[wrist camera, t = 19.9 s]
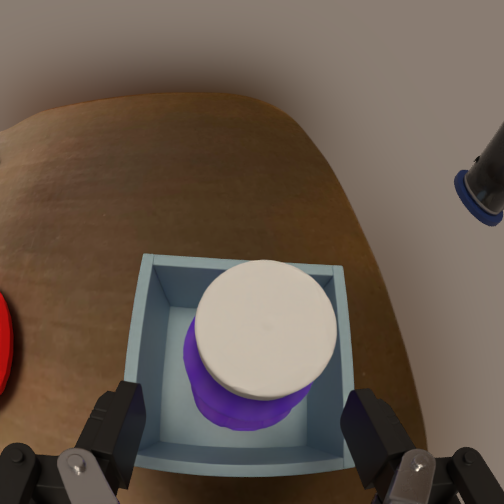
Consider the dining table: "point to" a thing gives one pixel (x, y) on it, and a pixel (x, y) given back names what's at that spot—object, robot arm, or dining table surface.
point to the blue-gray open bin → (182, 400)
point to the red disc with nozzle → (5, 343)
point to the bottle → (258, 344)
